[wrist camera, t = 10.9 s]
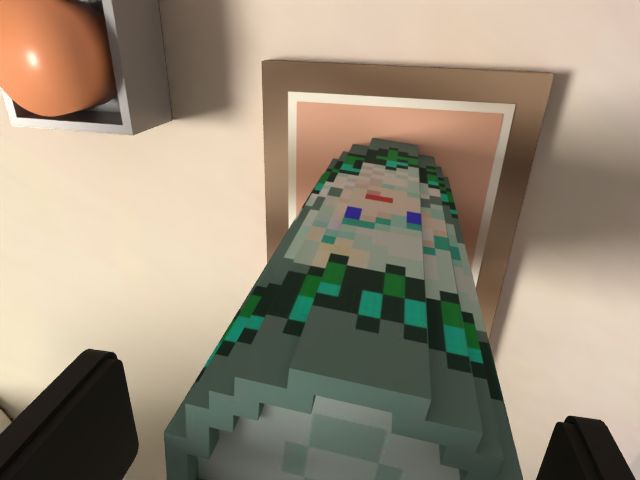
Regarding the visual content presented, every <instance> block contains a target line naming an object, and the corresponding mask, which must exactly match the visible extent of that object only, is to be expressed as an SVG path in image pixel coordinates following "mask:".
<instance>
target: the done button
mask: <svg viewBox="0 0 640 480" xmlns="http://www.w3.org/2000/svg"><path fill="white" fill-rule="evenodd" d="M0 87H1V88H2V89H3V90H4V92H5V93H6V94H7V95H8V96H9V97H10V98H11V99H12V100H13V101H15V102H16V103H17V104H18V105H20V106H21V107H23V108H24V109H26V110H28V111H30V112H32V113H35V114H38V115H41V116H60V115H64V114H68V113H72V112H76V111H80V110H84V109H88V108H92V107H96V106H100V105H103V104H106V103H107V102H109V101H111V100H112V99H113V98H114V97H115V96H116V95H117V94H118V93H117V87H116V81H115V75H114V69H113V63H112V57H111V51H110V45H109V39H108V33H107V27H106V21H105V17H104V16H103V15H102V14H101V13H100V12H99V11H98V10H97V9H95V8H94V7H92V6H91V5H89V4H87V3H85V2H83V1H80V0H0Z"/></svg>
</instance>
